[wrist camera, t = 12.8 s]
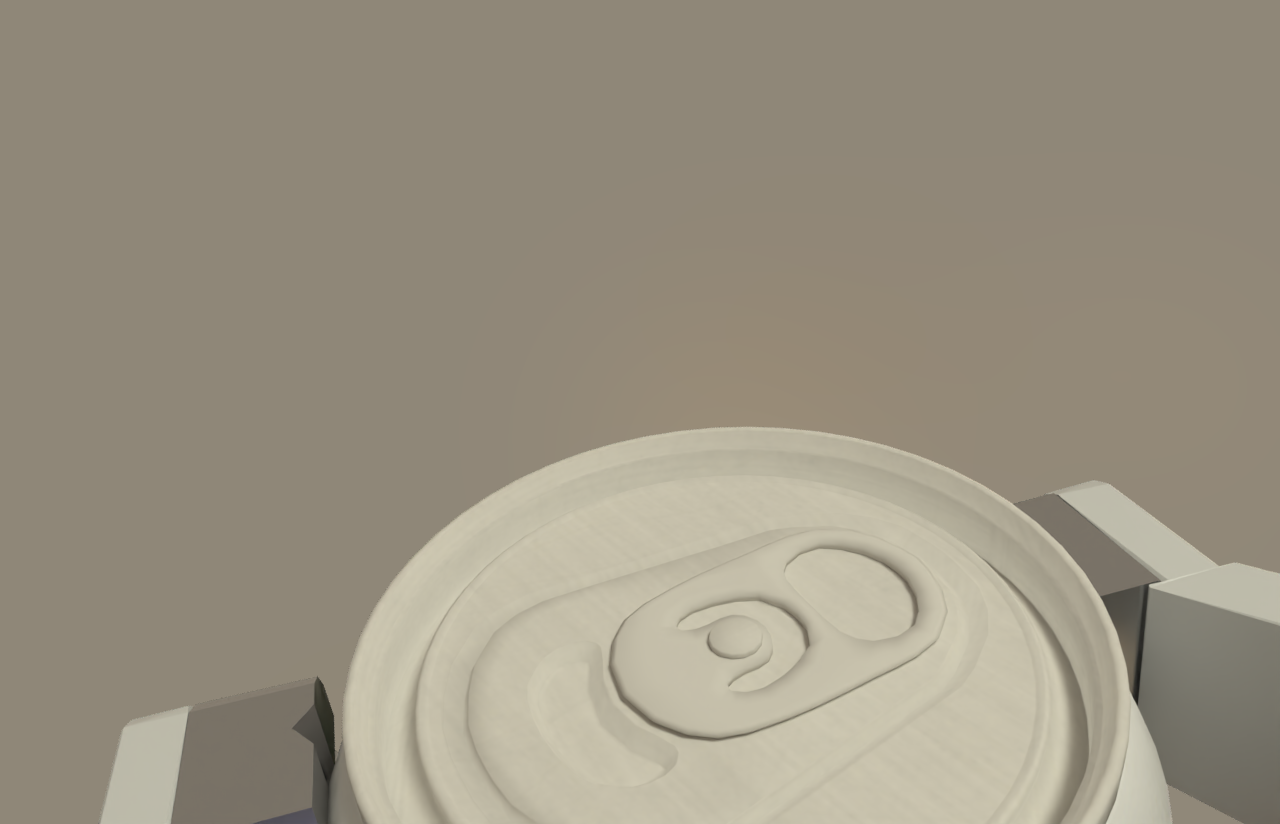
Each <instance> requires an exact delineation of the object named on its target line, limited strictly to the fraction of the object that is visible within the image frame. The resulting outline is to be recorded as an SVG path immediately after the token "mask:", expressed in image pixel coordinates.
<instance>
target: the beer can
mask: <svg viewBox="0 0 1280 824" xmlns="http://www.w3.org/2000/svg"><path fill="white" fill-rule="evenodd" d="M342 717H343V718H342V743H341V746H340V749H339V752H338V756H337V759H336V762H335V765H334V768H333V772H332V775H331V778H330V782H329V799H328V824H1173V823H1172V816H1171V808H1170V800H1169V795H1168V787H1167V784H1166V780H1165V777H1164V773H1163V770H1162V766H1161V763H1160V759H1159V756H1158V753H1157V749H1156V746H1155V744H1154V742H1153V740H1152V737H1151V735H1150V733H1149V731H1148V728H1147V726H1146V724H1145V722H1144V719H1143V717H1142V715H1141V713H1140V711H1139V708H1138V706H1137V704H1136V702H1135V700H1134V698H1133V696H1132V694H1131V692H1130V690H1129V682H1128V673H1127V666H1126V663H1125V659H1124V656H1123V652H1122V649H1121V645H1120V642H1119V638H1118V635H1117V631H1116V629H1115V627H1114V625H1113V623H1112V620H1111V618H1110V616H1109V614H1108V612H1107V609H1106V607H1105V605H1104V603H1103V601H1102V599H1101V598H1100V596H1099V595H1098V593H1097V591H1096V590H1095V588H1094V587H1093V585H1092V584H1091V582H1090V581H1089V579H1088V577H1087V576H1086V574H1085V573H1084V571H1083V570H1082V569H1081V568H1080V567H1079V565H1078V564H1077V563H1076V562H1075V561H1074V560H1073V558H1072V557H1071V556H1070V555H1069V554H1068V552H1067V551H1066V550H1065V549H1064V548H1063V546H1062V545H1060V544H1059V543H1058V542H1057V541H1056V540H1055V539H1054V538H1053V537H1052V536H1051V535H1050V534H1049V533H1048V532H1047V531H1046V530H1045V529H1044V528H1042V527H1041V526H1040V525H1039V524H1038V523H1037V522H1036V521H1034V520H1033V519H1032V518H1030V517H1029V516H1028V515H1027V514H1025V513H1024V512H1023V511H1021V510H1020V509H1019V508H1017V507H1016V506H1015V505H1013V504H1012V503H1011V502H1009V501H1007V500H1006V499H1004V498H1003V497H1001V496H999V495H998V494H996V493H995V492H993V491H991V490H990V489H988V488H987V487H985V486H983V485H982V484H980V483H978V482H976V481H974V480H972V479H970V478H968V477H966V476H964V475H962V474H960V473H958V472H956V471H954V470H952V469H950V468H947V467H945V466H943V465H940V464H937V463H935V462H933V461H930V460H928V459H925V458H923V457H920V456H917V455H915V454H911V453H908V452H905V451H902V450H899V449H896V448H892V447H889V446H886V445H882V444H878V443H874V442H870V441H866V440H861V439H857V438H853V437H848V436H842V435H835V434H830V433H824V432H818V431H807V430H798V429H787V428H769V427H724V428H706V429H695V430H685V431H676V432H671V433H664V434H657V435H652V436H645V437H641V438H636V439H632V440H628V441H623V442H619V443H614V444H610V445H607V446H604V447H600V448H597V449H594V450H590V451H587V452H583V453H580V454H577V455H575V456H572V457H569V458H567V459H564V460H561V461H559V462H556V463H553V464H551V465H548V466H546V467H544V468H541V469H539V470H537V471H535V472H533V473H530V474H528V475H526V476H524V477H522V478H520V479H517V480H516V481H514V482H512V483H511V484H508V485H507V486H505V487H503V488H501V489H500V490H498V491H496V492H494V493H492V494H491V495H489V496H487V497H486V498H484V499H483V500H481V501H480V502H478V503H477V504H475V505H474V506H472V507H471V508H469V509H468V510H466V511H465V512H463V513H462V514H460V515H459V516H458V517H457V518H455V519H454V520H453V521H452V522H450V523H449V524H448V525H447V526H445V527H444V528H443V529H442V530H440V531H439V532H438V533H436V534H435V535H434V536H433V537H432V538H431V539H430V540H429V541H428V542H427V543H426V544H425V545H424V546H423V547H422V548H421V549H420V550H419V551H418V552H417V553H416V554H415V555H414V556H413V557H412V558H411V559H410V560H409V561H408V562H407V564H406V565H405V566H404V567H403V568H402V570H401V571H400V572H399V573H398V574H397V576H396V577H395V578H394V579H393V580H392V581H391V583H390V585H389V586H388V587H387V589H386V590H385V592H384V594H383V595H382V597H381V598H380V600H379V601H378V603H377V604H376V606H375V607H374V609H373V611H372V613H371V615H370V617H369V619H368V621H367V623H366V625H365V627H364V629H363V631H362V633H361V635H360V637H359V640H358V642H357V645H356V648H355V651H354V654H353V657H352V660H351V663H350V666H349V670H348V676H347V681H346V686H345V692H344V697H343V714H342Z"/></svg>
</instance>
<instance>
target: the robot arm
mask: <svg viewBox="0 0 1280 824" xmlns="http://www.w3.org/2000/svg"><path fill="white" fill-rule="evenodd" d="M1013 505H1015V506H1016V507H1017V508H1019V509H1020V510H1021V511H1023V512H1024V513H1025V514H1027V515H1028V516H1029V517H1030V518H1032V519H1033V520H1034V521H1036V522H1037V523H1038V524H1039V525H1040V526H1041V527H1042V528H1044V529H1045V530H1046V531H1047V532H1048V533H1049V534H1050V535H1051V536H1052V537H1053V538H1054V539H1055V540H1056V541H1057V542H1058V543H1059V544H1060V545H1062V546H1063V548H1064V549H1065V550H1066V551H1067V552H1068V554H1069V555H1070V556H1071V557H1072V558H1073V560H1074V561H1075V562H1076V563H1077V564H1078V565H1079V567H1080V568H1081V569H1082V570H1083V571H1084V573H1085V574H1086V576H1087V577H1088V579H1089V581H1090V582H1091V584H1092V585H1093V587H1094V588H1095V590H1096V591H1097V593H1098V595H1099V596H1100V598H1101V599H1102V601H1103V603H1104V605H1105V607H1106V609H1107V612H1108V614H1109V616H1110V618H1111V620H1112V623H1113V625H1114V627H1115V629H1116V631H1117V635H1118V638H1119V642H1120V645H1121V649H1122V652H1123V656H1124V659H1125V663H1126V666H1127V673H1128V682H1129V690H1130V692H1131V694H1132V696H1133V698H1134V700H1135V702H1136V704H1137V706H1138V708H1139V711H1140V713H1141V715H1142V717H1143V719H1144V722H1145V724H1146V726H1147V728H1148V731H1149V733H1150V735H1151V737H1152V740H1153V742H1154V744H1155V746H1156V749H1157V753H1158V756H1159V759H1160V763H1161V766H1162V770H1163V773H1164V777H1165V780H1166V784H1168V785H1170V786H1172V787H1174V788H1176V789H1178V790H1180V791H1182V792H1184V793H1186V794H1188V795H1189V796H1191V797H1194V798H1195V799H1197V800H1199V801H1201V802H1203V803H1205V804H1207V805H1209V806H1211V807H1213V808H1215V809H1217V810H1219V811H1220V812H1222V813H1224V814H1226V815H1228V816H1230V817H1232V818H1234V819H1236V820H1238V821H1240V822H1242V823H1244V824H1280V574H1279V573H1275V572H1271V571H1267V570H1263V569H1259V568H1255V567H1251V566H1247V565H1243V564H1239V563H1236V562H1235V563H1231V564H1227V565H1223V566H1218V565H1217V564H1215V563H1214V562H1213V561H1211V560H1210V559H1208V558H1207V557H1206V556H1205V555H1203V554H1202V553H1201V552H1199V551H1198V550H1197V549H1195V548H1194V547H1193V546H1191V545H1190V544H1189V543H1187V542H1186V541H1185V540H1183V539H1182V538H1180V537H1179V536H1178V535H1177V534H1175V533H1174V532H1173V531H1171V530H1170V529H1168V528H1167V527H1166V526H1165V525H1163V524H1162V523H1161V522H1159V521H1158V520H1157V519H1155V518H1154V517H1153V516H1151V515H1150V514H1149V513H1147V512H1146V511H1145V510H1143V509H1142V508H1141V507H1139V506H1138V505H1137V504H1135V503H1134V502H1133V501H1131V500H1130V499H1129V498H1127V497H1126V496H1125V495H1123V494H1122V493H1121V492H1119V491H1118V490H1117V489H1115V488H1114V487H1112V486H1111V485H1110V484H1108V483H1104V482H1100V481H1095V480H1092V481H1088V482H1085V483H1082V484H1078V485H1075V486H1071V487H1068V488H1064V489H1060V490H1057V491H1053V492H1050V493H1046V494H1044V495H1043V496H1041V497H1037V498H1033V499H1029V500H1026V501H1021V502H1018V503H1014V504H1013ZM334 736H335V734H334V715H333V711H332V709H331V705H330V702H329V700H328V697H327V694H326V690H325V688H324V685H323V683H322V682H321V680H320V679H319V678H318V676H317V677H313V678H308V679H304V680H299V681H295V682H291V683H287V684H282V685H278V686H273V687H269V688H265V689H260V690H256V691H252V692H247V693H242V694H238V695H234V696H229V697H225V698H221V699H216V700H212V701H207V702H203V703H198V704H196V705H195V706H194V707H192V706H185V707H182V708H178V709H173V710H169V711H165V712H161V713H157V714H154V715H149V716H145V717H141V718H137V719H133V720H131V721H130V722H129V723H128V724H127V725H126V726H125V727H124V728H123V730H122V731H121V733H120V737H119V741H118V745H117V749H116V753H115V758H114V762H113V765H112V769H111V774H110V778H109V782H108V786H107V790H106V794H105V798H104V802H103V806H102V810H101V814H100V818H99V822H98V824H328V799H329V782H330V778H331V775H332V772H333V768H334V765H335V762H336V759H337V756H338V752H337V751H336V750H335V737H334Z"/></svg>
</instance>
